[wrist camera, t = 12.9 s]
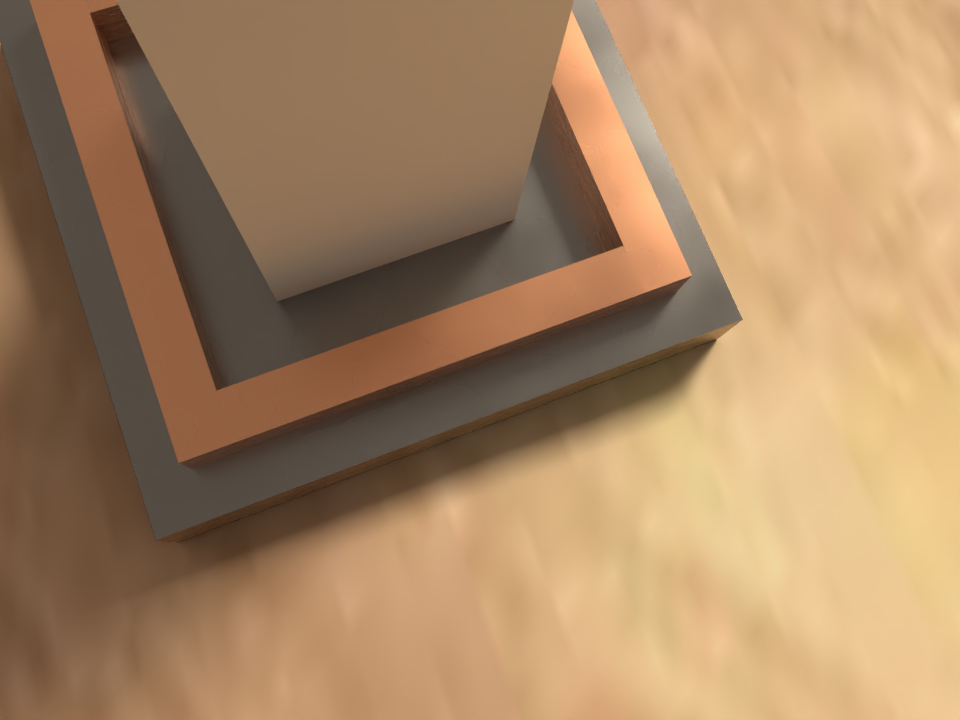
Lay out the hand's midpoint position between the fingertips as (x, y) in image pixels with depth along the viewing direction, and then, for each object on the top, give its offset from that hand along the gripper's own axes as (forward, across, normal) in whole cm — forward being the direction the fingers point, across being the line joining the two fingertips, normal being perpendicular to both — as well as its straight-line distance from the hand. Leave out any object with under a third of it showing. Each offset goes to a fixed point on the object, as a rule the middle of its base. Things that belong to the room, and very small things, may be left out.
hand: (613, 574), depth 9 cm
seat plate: (+13, 0, 0) cm, 13 cm away
